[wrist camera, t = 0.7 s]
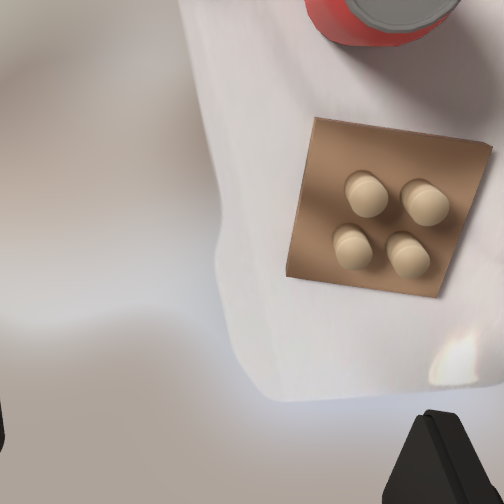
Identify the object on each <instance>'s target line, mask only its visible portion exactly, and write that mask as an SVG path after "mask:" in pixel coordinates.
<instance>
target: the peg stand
mask: <svg viewBox="0 0 504 504" xmlns="http://www.w3.org/2000/svg"><path fill="white" fill-rule="evenodd" d="M492 148H493V147H492V146H490V145H488V144H486V143H484V142H479V141H472V140H465V139H458V138H452V137H445V136H438V135H432V134H425V133H418V132H411V131H405V130H398V129H391V128H385V127H378V126H371V125H365V124H358V123H351V122H344V121H338V120H331V119H324V118H318V117H315V118H314V123H313V128H312V133H311V139H310V144H309V149H308V154H307V159H306V165H305V170H304V175H303V180H302V185H301V191H300V196H299V201H298V206H297V211H296V217H295V222H294V227H293V232H292V237H291V243H290V248H289V253H288V258H287V263H286V277H292V278H299V279H306V280H313V281H320V282H327V283H334V284H342V285H349V286H356V287H363V288H370V289H377V290H384V291H391V292H398V293H405V294H412V295H419V296H426V297H433V298H436V297H437V295H438V292H439V289H440V287H441V284H442V281H443V279H444V276H445V273H446V271H447V268H448V265H449V263H450V260H451V257H452V255H453V252H454V249H455V247H456V244H457V241H458V239H459V236H460V233H461V231H462V228H463V225H464V223H465V220H466V217H467V215H468V212H469V209H470V207H471V204H472V201H473V199H474V196H475V193H476V191H477V188H478V185H479V183H480V180H481V177H482V175H483V172H484V169H485V167H486V164H487V161H488V159H489V156H490V153H491V151H492Z"/></svg>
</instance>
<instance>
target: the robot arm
mask: <svg viewBox="0 0 504 504" xmlns="http://www.w3.org/2000/svg"><path fill="white" fill-rule="evenodd" d="M4 440H5V434H4V426H3V418H2V411H1V404H0V452H1V450H2V447H3V444H4ZM382 504H504V503H503V500H502V498H501V496H500V495H499V493H498V491H497V490H496V488H495V487H494V486H492V485H491V483H490V481H489V478H488V476H487V474H486V472H485V470H484V468H483V466H482V464H481V462H480V460H479V458H478V456H477V454H476V452H475V450H474V448H473V446H472V444H471V441H470V439H469V437H468V435H467V433H466V431H465V429H464V427H463V425H462V423H461V421H460V419H459V417H458V416H457V415H456V414H454V413H449V412H442V411H436V410H426V411H425V413H424V414H423V415H418V416H417V417H416V419H415V421H414V423H413V425H412V427H411V430H410V432H409V434H408V437H407V439H406V441H405V443H404V446H403V448H402V450H401V452H400V455H399V457H398V459H397V462H396V464H395V466H394V469H393V471H392V473H391V475H390V477H389V480H388V482H387V484H386V487H385V489H384V491H383V495H382Z"/></svg>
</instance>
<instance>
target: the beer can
mask: <svg viewBox="0 0 504 504" xmlns="http://www.w3.org/2000/svg"><path fill="white" fill-rule="evenodd" d="M460 1H461V0H305V4H306V8H307V13H308V15H309V17H310V19H311V20H312V22H313V24H314V25H315V27H316V29H317V30H318V31H320V32H321V33H322V34H323V35H324V36H326V37H327V38H328V39H329V40H331V41H334V42H337V43H340V44H343V45H350V46H374V47H375V46H399V45H402V44H405V43H408V42H411V41H414V40H417V39H420V38H421V37H423V36H424V35H425V34H427V33H428V32H429V31H431V30H432V29H434V28H435V27H436V26H438V25H439V24H441V23H442V22H443V21H444V20H445V19H446V18H447V16H448V15H449V14H450V13H451V11H453V10H454V8H455V7H456V6H457V5H458V3H459V2H460Z"/></svg>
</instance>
